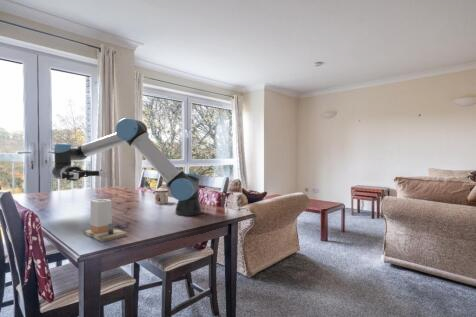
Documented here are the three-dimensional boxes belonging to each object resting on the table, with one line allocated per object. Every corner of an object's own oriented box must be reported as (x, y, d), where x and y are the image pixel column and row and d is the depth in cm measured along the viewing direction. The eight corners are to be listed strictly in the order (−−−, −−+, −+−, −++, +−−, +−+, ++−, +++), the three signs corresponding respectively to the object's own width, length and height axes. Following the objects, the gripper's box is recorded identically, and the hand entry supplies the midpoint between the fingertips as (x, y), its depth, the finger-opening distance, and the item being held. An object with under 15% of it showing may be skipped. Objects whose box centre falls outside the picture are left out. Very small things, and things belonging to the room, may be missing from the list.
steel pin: (114, 232, 115) (114, 223, 115) (112, 234, 113) (112, 224, 113) (109, 232, 115) (109, 223, 115) (107, 234, 113) (107, 224, 113)
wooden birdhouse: (152, 202, 189) (152, 186, 189) (164, 201, 196) (164, 185, 195) (161, 205, 181) (161, 187, 180) (173, 203, 187) (173, 186, 187)
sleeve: (111, 229, 120) (111, 200, 119) (97, 233, 115) (98, 202, 114) (104, 227, 123) (104, 198, 123) (90, 230, 118) (90, 200, 118)
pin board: (126, 235, 117) (126, 232, 116) (103, 241, 108) (103, 238, 108) (106, 229, 126) (106, 225, 126) (83, 234, 118) (83, 230, 118)
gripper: (95, 178, 153) (117, 180, 141) (44, 182, 132) (64, 185, 120) (95, 164, 153) (117, 166, 140) (43, 167, 132) (64, 168, 120)
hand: (92, 175), depth 130 cm, fingers open, 13 cm apart
